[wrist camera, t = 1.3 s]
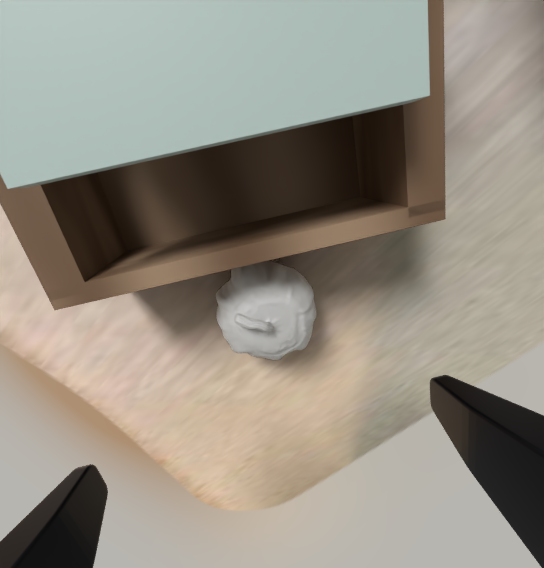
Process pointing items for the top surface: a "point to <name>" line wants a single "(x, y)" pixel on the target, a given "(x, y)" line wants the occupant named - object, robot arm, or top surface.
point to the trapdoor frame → (238, 199)
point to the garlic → (266, 310)
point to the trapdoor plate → (191, 75)
